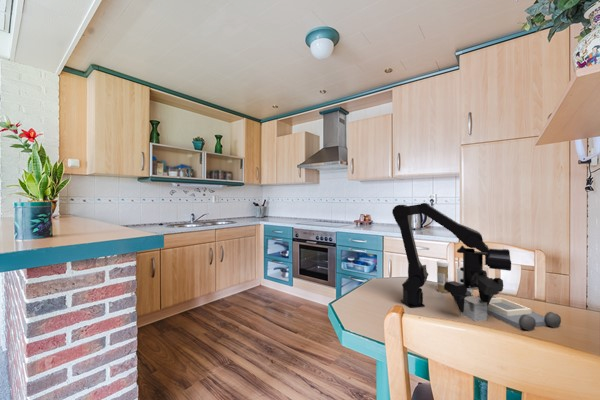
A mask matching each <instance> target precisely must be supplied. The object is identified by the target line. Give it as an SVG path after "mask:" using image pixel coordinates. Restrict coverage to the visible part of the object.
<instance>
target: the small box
mask: <svg viewBox="0 0 600 400" xmlns="http://www.w3.org/2000/svg"><path fill="white" fill-rule="evenodd" d="M461 267H463V265H459V266H458V268H457V269H456V270H457V273H456V275H457V277H456V278H457V279H456V280H457V282H458V283H460V284H463V283H462V282H460V279H463V271H461V270H460V268H461ZM469 287H470V286H469ZM468 291H470V292H471V295H472V296H473V294H474V289H470V290H468Z"/></svg>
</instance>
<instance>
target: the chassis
mask: <svg viewBox="0 0 600 400" xmlns="http://www.w3.org/2000/svg"><path fill="white" fill-rule="evenodd" d="M466 295H467V297H470V296H473V295H471V292H470V291H468V290H467V292H466ZM474 297H475V298H477V299H480V296H474ZM487 315H489V316H491V317H493V318H496V319H497V320H499V321H502V322H504V323H506V324H508V325H510V326H512V327H514V328H517V329H518V330H521V329H522V330H523V329H524V330H525V331H528V332H531V331H533V330H535V328H539V327H551V328H554V329H557V328H558V327H560V325H561V323H562V318H561V316H560V315H559V313H555V312H553V311H548V312H546V314H544V315H543V314H540V313H537V312H536V311H535V312H534V311H532V308H529V307H526V306H525V305H521V304H519V303H516V302H514V301H512V300H509V299H506V298H504V297H499V296H498V297H497V296H495V295H494V296H492V298H491V300H490V302H489V305H488V307H487Z"/></svg>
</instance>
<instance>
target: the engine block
mask: <svg viewBox="0 0 600 400" xmlns="http://www.w3.org/2000/svg"><path fill="white" fill-rule="evenodd" d="M475 297H476V296H473V295H472V296H470V297H465V298H464V312H463V313H462V312H460V311H459V312H460V315H462V316H463V317H465V318H467V319H469V320H471V321H472V322H483V321H488V314H487V303H486V302H484V301H482V300H480V299H477V298H475Z"/></svg>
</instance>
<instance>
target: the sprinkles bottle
mask: <svg viewBox="0 0 600 400" xmlns="http://www.w3.org/2000/svg"><path fill="white" fill-rule="evenodd" d="M436 266H437V267H436V277H437V278H436V281H437V282H436V283H437V289H436V290H437V292H439V293H443V294H447V293H449V292H448V291H447V290H445V289H444V284H445V283H446V282H449V262H448V261H446V260H437V261H436Z"/></svg>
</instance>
